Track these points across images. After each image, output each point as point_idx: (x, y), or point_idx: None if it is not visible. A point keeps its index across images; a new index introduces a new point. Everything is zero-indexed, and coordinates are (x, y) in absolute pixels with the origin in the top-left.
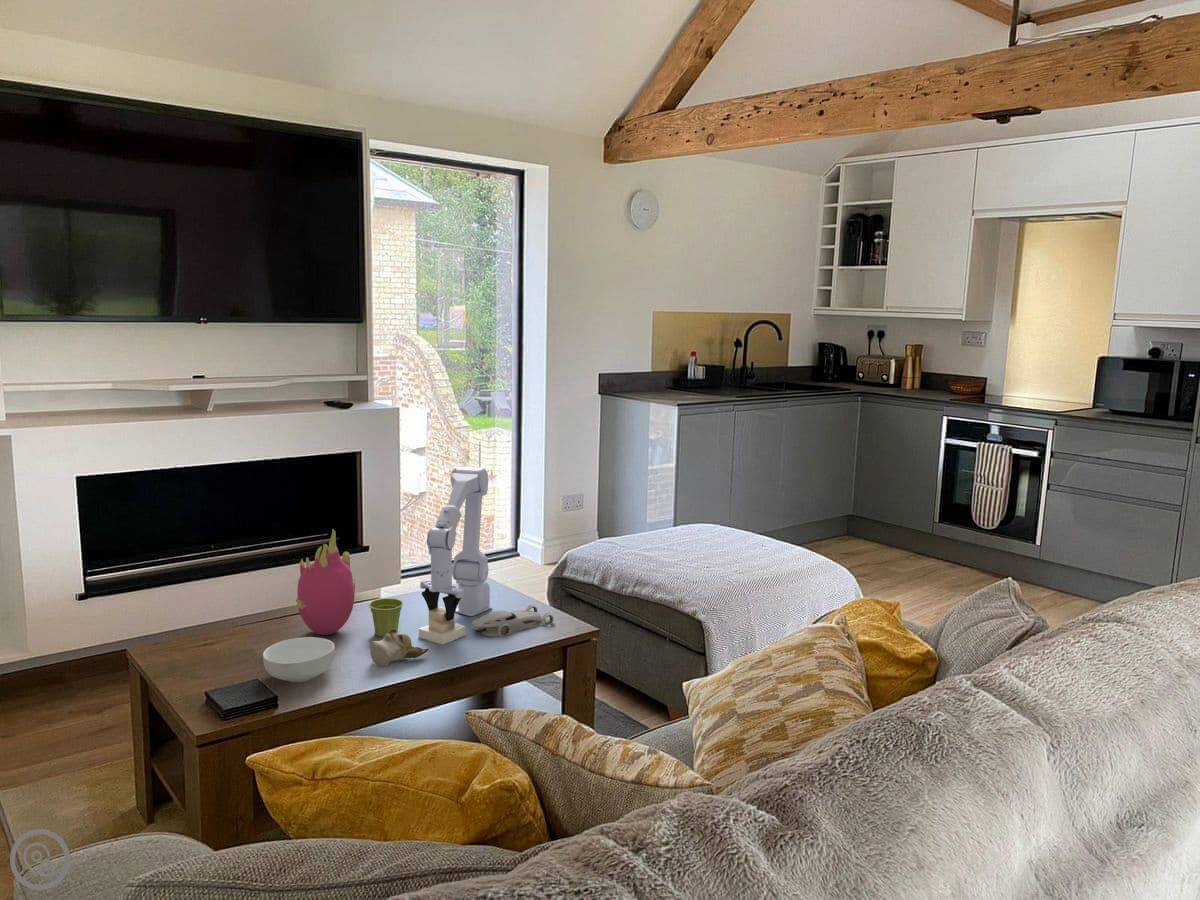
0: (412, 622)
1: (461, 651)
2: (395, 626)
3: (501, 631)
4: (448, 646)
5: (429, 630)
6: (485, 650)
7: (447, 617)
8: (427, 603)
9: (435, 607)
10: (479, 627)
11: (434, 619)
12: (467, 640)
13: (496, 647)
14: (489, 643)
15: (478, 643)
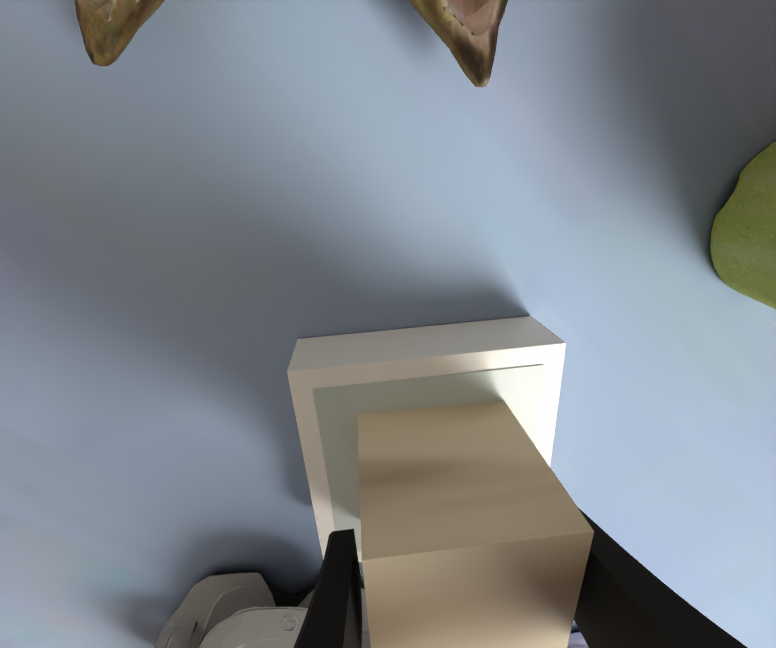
0: (720, 439)
1: (86, 346)
2: (773, 242)
3: (190, 643)
4: (239, 345)
5: (463, 374)
6: (4, 457)
7: (328, 563)
8: (706, 634)
9: (592, 620)
10: None
11: (464, 473)
12: (245, 479)
13: (17, 522)
14: (110, 530)
15: (153, 493)
